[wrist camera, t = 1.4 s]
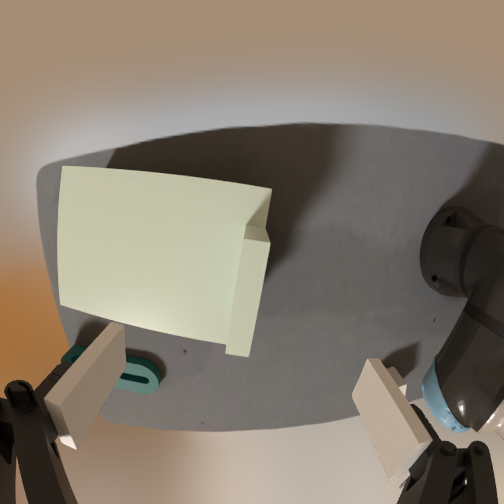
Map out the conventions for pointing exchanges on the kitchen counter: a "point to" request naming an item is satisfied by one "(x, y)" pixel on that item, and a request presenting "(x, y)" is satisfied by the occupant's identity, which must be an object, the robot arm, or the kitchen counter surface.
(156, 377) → the bracket
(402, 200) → the kitchen counter surface
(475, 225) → the robot arm
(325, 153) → the kitchen counter surface
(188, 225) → the pale green l-shaped plate
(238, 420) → the kitchen counter surface
